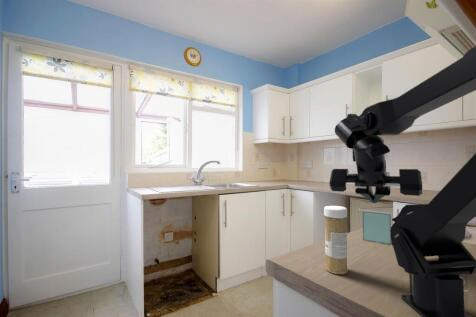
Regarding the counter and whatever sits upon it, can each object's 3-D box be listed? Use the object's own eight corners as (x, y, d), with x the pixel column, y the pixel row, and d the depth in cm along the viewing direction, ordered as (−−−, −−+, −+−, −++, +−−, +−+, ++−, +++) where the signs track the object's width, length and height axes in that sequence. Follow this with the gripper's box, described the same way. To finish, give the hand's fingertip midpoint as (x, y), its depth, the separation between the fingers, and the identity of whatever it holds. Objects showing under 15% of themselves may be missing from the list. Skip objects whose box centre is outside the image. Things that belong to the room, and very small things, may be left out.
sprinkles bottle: (324, 264, 52) (323, 204, 52) (346, 267, 51) (345, 205, 51) (326, 274, 48) (324, 208, 48) (350, 276, 46) (349, 209, 47)
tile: (391, 244, 64) (390, 214, 64) (363, 240, 68) (362, 211, 68) (391, 242, 66) (390, 212, 67) (363, 238, 70) (363, 209, 70)
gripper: (419, 132, 51) (416, 179, 60) (331, 138, 62) (339, 177, 71) (424, 169, 45) (420, 215, 54) (324, 168, 55) (334, 207, 64)
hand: (374, 201), depth 61 cm, fingers closed
